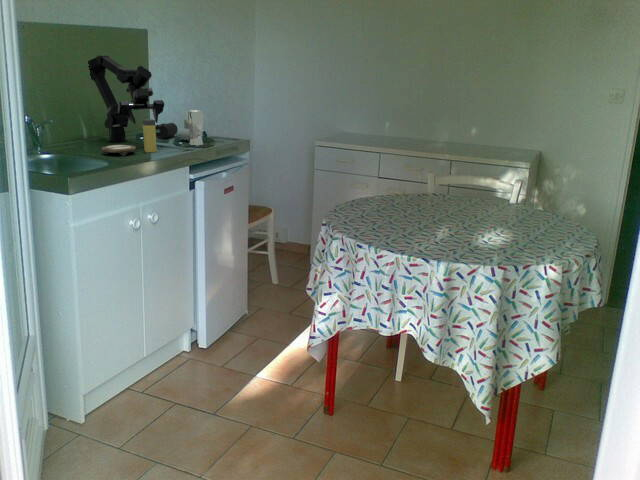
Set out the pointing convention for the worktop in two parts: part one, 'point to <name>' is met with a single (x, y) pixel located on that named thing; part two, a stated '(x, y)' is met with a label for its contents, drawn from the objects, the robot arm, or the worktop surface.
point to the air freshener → (185, 131)
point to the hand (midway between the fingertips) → (146, 122)
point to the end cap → (166, 130)
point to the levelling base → (118, 149)
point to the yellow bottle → (149, 135)
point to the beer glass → (195, 126)
